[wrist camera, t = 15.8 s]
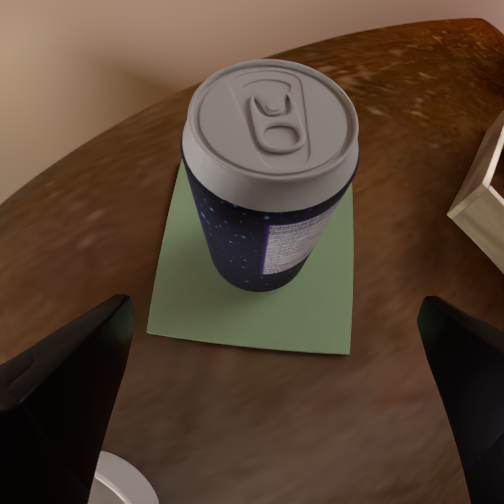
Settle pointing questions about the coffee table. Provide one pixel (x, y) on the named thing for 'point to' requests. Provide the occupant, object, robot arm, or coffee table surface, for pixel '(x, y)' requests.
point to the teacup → (119, 483)
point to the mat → (253, 303)
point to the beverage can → (267, 166)
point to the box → (483, 198)
